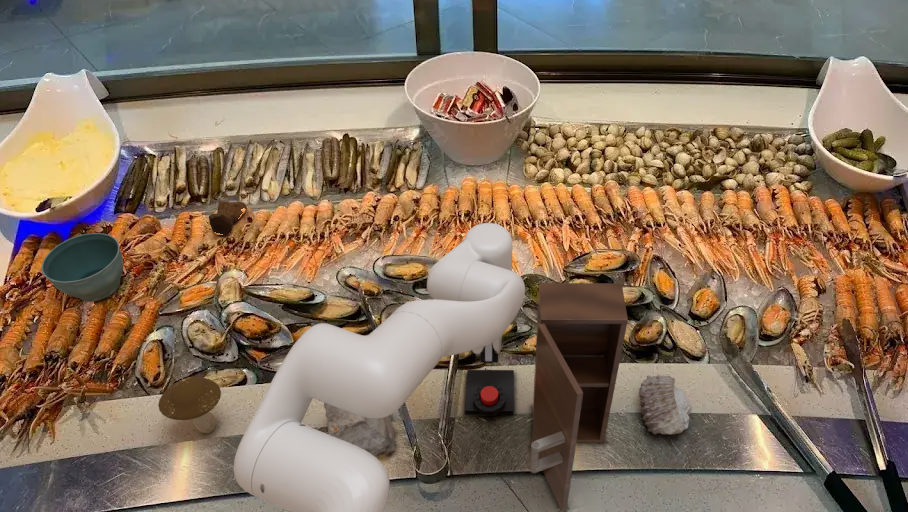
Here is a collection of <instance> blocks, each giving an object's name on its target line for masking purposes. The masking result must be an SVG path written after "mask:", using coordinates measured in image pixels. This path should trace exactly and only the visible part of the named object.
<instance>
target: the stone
mask: <svg viewBox="0 0 908 512" xmlns="http://www.w3.org/2000/svg"><path fill="white" fill-rule="evenodd" d="M323 407H324V409H325V414H324V415H325V417H326V421H327V422H326V423H327V434H329V435H331V436H334V437H336V438H339V439H341V440H344V441H346V442H349V443H351V444H353V445H356V446H358V447H360V448H362V449H364V450H366V451H367V452H369V453H370V454H372V455H373V456H375V457H376V458H377V459H378V457H380V456H382V455H384V456H387V455H389V454H391V453H393V452H394V451H395V450H396V440H395V430H394V428H393V423H392V419H391V418H390V415H389V416H387V417H383V418H367V417H362V416H359V415H356V414H353V413H350V412H348V411H345V410H342V409H340V408H337V407H335V406H332V405H329V404H327V403H324V402H323Z"/></svg>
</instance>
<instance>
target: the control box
mask: <svg viewBox="0 0 908 512" xmlns="http://www.w3.org/2000/svg"><path fill="white" fill-rule="evenodd" d="M487 386H492V387H495V388H496V389H497V391H498V401H497V403H496V404H494V405H492V406H487V405H484V404H483V403H482V401H481V390H482V389H483V388H484V387H487ZM514 393H515V370H514V369H467V370H466V387H465V401H464V402H465V403H464V415H465V416H485V417H494V416H514V415H515V394H514Z"/></svg>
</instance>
